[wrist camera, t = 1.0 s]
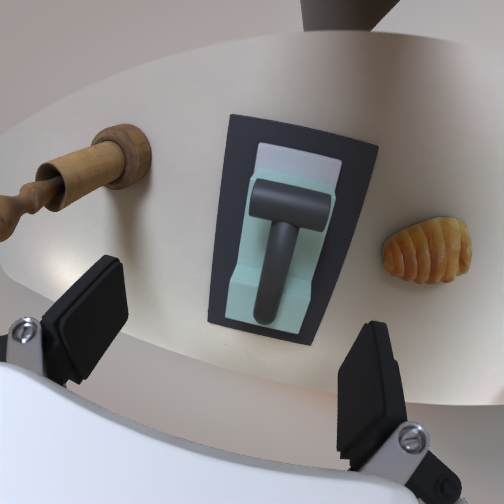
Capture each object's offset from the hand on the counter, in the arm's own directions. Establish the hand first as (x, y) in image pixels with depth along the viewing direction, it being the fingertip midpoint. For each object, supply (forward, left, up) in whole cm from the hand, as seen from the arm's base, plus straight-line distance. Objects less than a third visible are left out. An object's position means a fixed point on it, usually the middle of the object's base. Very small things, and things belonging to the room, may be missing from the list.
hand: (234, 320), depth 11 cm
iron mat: (+7, +1, -18) cm, 20 cm away
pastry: (+3, +16, -18) cm, 25 cm away
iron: (+4, +1, -18) cm, 18 cm away
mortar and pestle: (0, -16, -18) cm, 25 cm away
